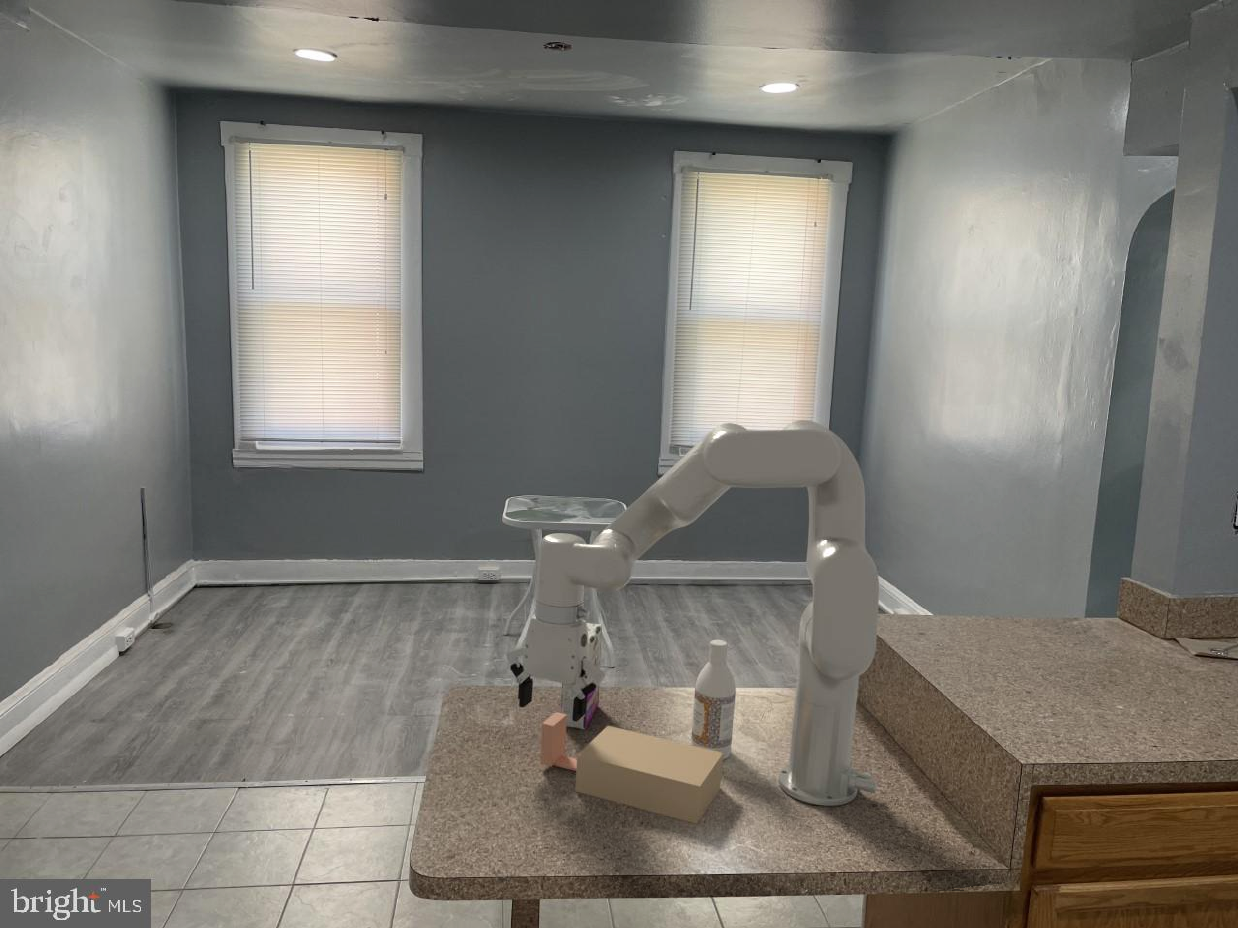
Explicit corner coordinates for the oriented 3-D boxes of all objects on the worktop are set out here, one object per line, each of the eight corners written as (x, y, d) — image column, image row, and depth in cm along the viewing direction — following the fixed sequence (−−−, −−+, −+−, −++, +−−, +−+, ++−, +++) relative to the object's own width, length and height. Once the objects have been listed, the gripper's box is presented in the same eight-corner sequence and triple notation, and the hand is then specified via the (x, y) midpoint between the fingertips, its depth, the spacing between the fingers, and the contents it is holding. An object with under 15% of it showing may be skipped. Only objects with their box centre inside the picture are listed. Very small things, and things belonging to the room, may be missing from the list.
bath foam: (683, 746, 163) (691, 637, 159) (718, 741, 165) (726, 633, 162) (702, 764, 156) (710, 651, 153) (738, 759, 159) (747, 647, 156)
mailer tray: (714, 784, 148) (717, 742, 147) (694, 814, 139) (697, 769, 138) (560, 745, 158) (562, 706, 157) (532, 771, 149) (534, 729, 148)
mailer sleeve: (720, 787, 149) (723, 752, 148) (697, 823, 138) (700, 786, 137) (605, 759, 156) (607, 725, 155) (575, 791, 145) (577, 755, 144)
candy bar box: (573, 702, 178) (577, 620, 176) (599, 706, 177) (603, 623, 175) (558, 727, 167) (562, 639, 165) (585, 730, 166) (589, 643, 164)
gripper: (617, 615, 150) (608, 715, 152) (522, 595, 156) (516, 691, 159) (598, 628, 143) (590, 733, 145) (500, 606, 149) (493, 707, 152)
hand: (551, 711), depth 152 cm, fingers open, 9 cm apart
